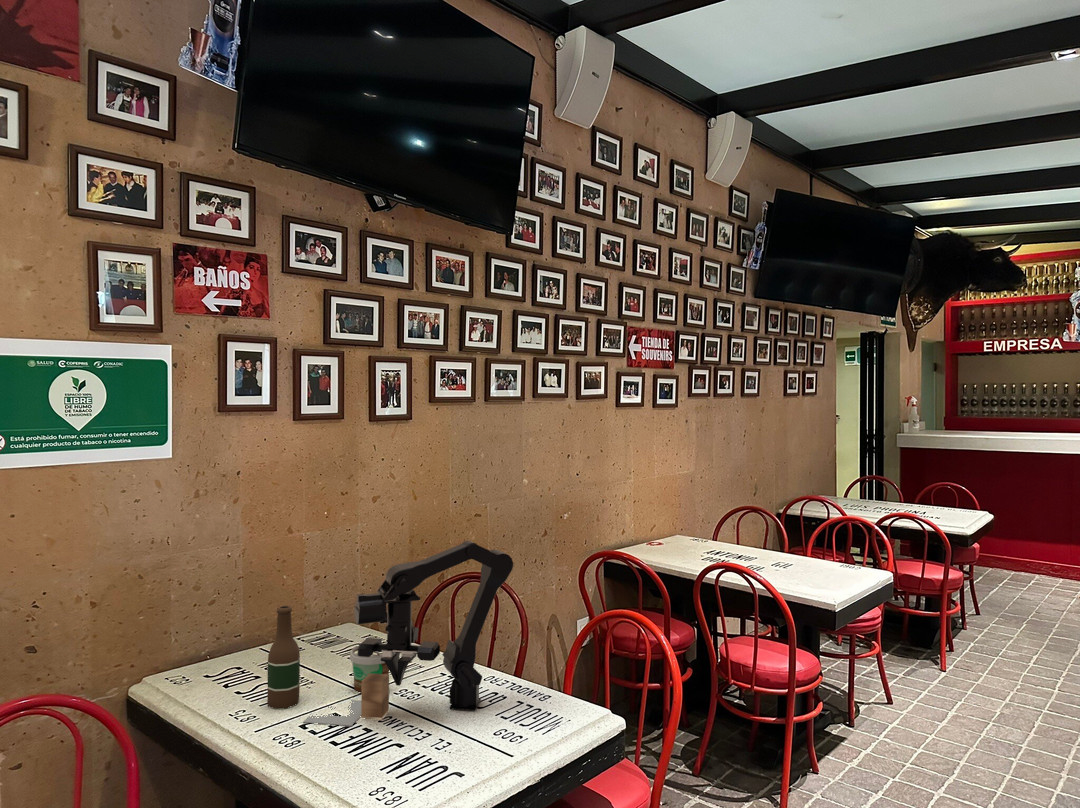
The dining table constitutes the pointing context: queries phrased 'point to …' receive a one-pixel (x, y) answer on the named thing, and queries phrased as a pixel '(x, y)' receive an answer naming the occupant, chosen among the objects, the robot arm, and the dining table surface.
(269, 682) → the beer bottle
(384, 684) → the block
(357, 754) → the dining table surface
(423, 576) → the robot arm
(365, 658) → the food container
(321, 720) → the mat
